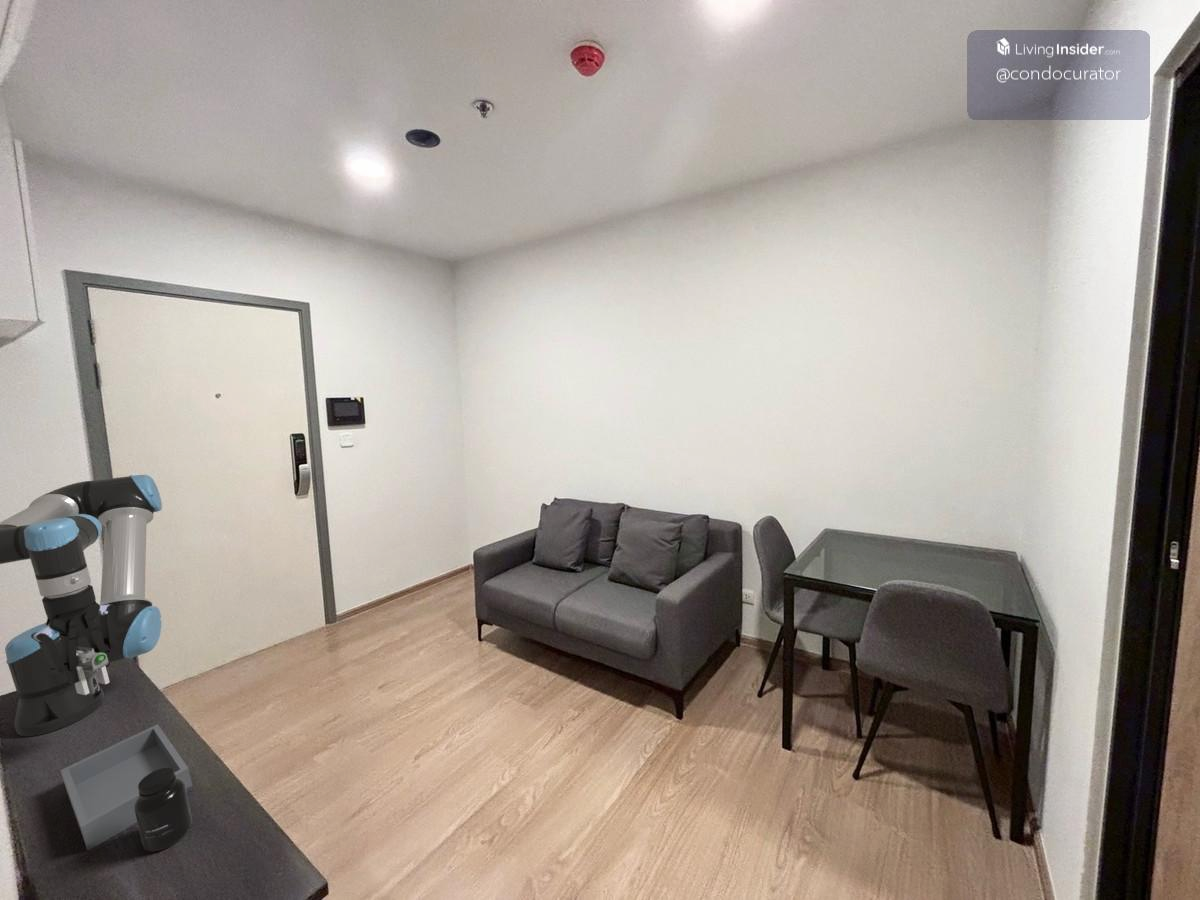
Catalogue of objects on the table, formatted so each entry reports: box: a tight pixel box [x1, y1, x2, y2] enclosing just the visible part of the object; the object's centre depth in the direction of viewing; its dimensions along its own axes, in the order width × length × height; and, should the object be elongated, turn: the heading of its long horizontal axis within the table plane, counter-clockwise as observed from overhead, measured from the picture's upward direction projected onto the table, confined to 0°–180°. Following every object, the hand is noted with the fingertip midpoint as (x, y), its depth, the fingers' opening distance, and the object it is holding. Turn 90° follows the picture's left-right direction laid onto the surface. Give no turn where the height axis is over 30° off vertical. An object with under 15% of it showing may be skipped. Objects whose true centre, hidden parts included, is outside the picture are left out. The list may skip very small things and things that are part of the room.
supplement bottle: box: [134, 767, 193, 853], centre depth 88 cm, size 7×7×12 cm
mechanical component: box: [76, 646, 108, 694], centre depth 109 cm, size 3×10×10 cm, turn 75°
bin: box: [60, 723, 194, 852], centre depth 98 cm, size 22×15×5 cm
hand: (93, 687), depth 110 cm, fingers closed on mechanical component, 3 cm apart
